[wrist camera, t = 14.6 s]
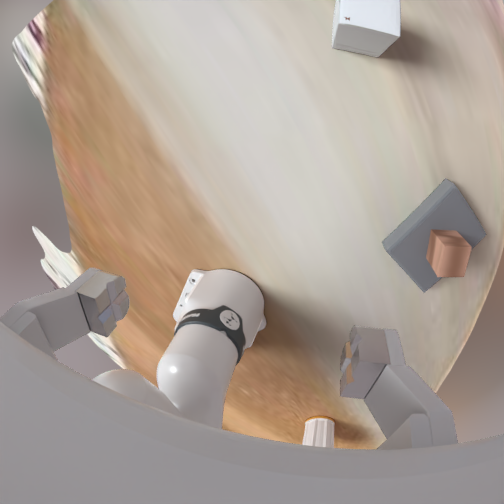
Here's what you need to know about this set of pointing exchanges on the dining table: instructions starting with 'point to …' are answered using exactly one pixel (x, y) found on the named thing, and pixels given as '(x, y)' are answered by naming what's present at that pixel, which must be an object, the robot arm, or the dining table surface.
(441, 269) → the terracotta block
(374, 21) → the supplement box
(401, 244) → the plinth
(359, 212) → the dining table surface
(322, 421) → the cup
